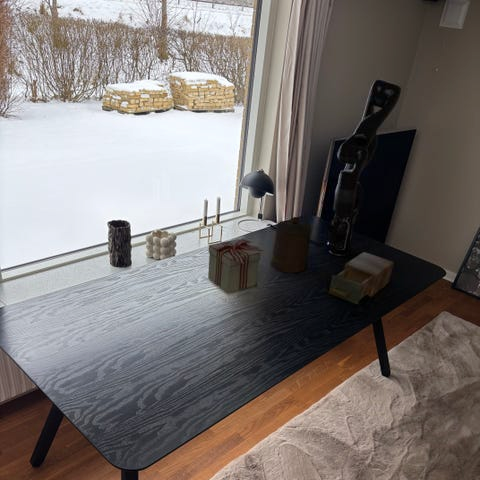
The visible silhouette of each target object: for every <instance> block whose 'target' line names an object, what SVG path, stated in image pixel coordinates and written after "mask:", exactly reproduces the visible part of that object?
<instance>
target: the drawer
mask: <svg viewBox="0 0 480 480" xmlns="http://www.w3.org/2000/svg"><path fill="white" fill-rule="evenodd" d="M330 280H331V281H330V286H329V291H328V294H330V295H332V296H334V297H336V298H340V299H342V300H345V301H348V302H349V303H352V304H355V305H359V304H360V301H361V300H362V299H363V298H365V297H366V296H368V295H367V294H368V293H369V292H371V288H372V284H373V280H374V276H372V275H369V274H367V273H364V272H361V271H358V270H355V269H353V268H350V267H348V268H347V269H345V270H344V269H343V270H342V271H341V272H339V273H338V274H332V275H331V279H330Z"/></svg>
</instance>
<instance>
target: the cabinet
mask: <svg viewBox="0 0 480 480" xmlns="http://www.w3.org/2000/svg"><path fill="white" fill-rule="evenodd" d="M394 264H395V261H393V260H390V259H386V258H383V257H380V256H377V255H375V254H371V253H369V252H365V251H363V252H362V253H360V254H358V255H357V256H355V257H354V258H353V259H351V260H349V261H347V262H346V263H345V264H344V269H343V271H344V270H345V269H347V268H348V267H350V268H353V269H355V270H358V271H361V272H364V273H367V274H369V275H372V276H374V280H373V284H372V288H371V292H369V293H368V294H367V295H366V296H368V297H370V298H371V297H374V295H376V294H377V293H378V292H380V291H381V290H382V289H383V288H384V287H386V286H387V285H388V284H389V283H390V281H391V276H392V273H393V272H392V271H393V269H394Z"/></svg>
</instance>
